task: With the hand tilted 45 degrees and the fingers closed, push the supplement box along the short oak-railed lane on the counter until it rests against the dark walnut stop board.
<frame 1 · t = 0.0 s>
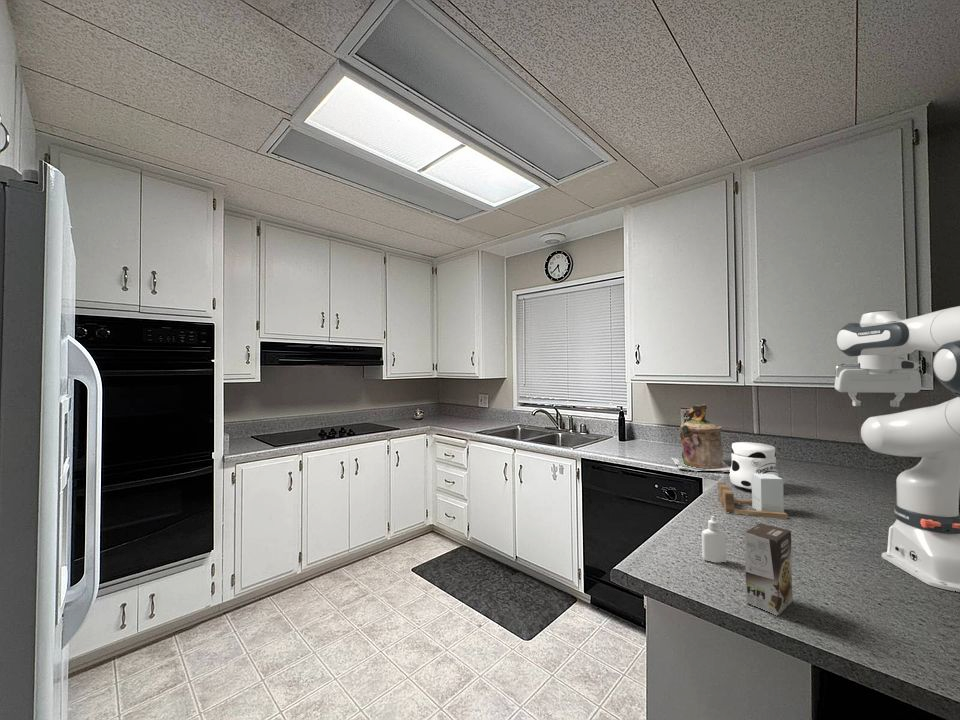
hand: (875, 406, 130), 39 cm above the worktop, tool pointing down, fingers open, 8 cm apart
stop board: (725, 497, 151), on the worktop
guide rails: (741, 508, 149), on the worktop
eye dropper bottle: (714, 561, 112), on the worktop
supplement box: (767, 511, 146), on the worktop
milk container: (753, 489, 172), on the worktop
cookie jar: (701, 467, 208), on the worktop
coffee box: (769, 603, 92), on the worktop
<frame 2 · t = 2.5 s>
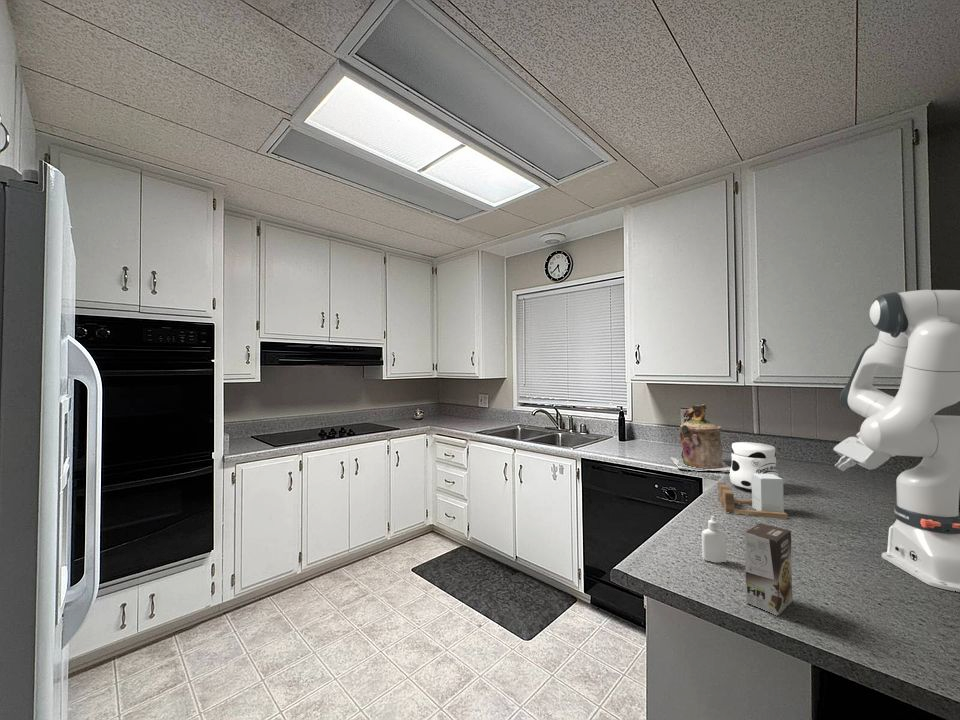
hand: (838, 468, 139), 17 cm above the worktop, tool tilted 45°, fingers closed
nothing on the worktop moved.
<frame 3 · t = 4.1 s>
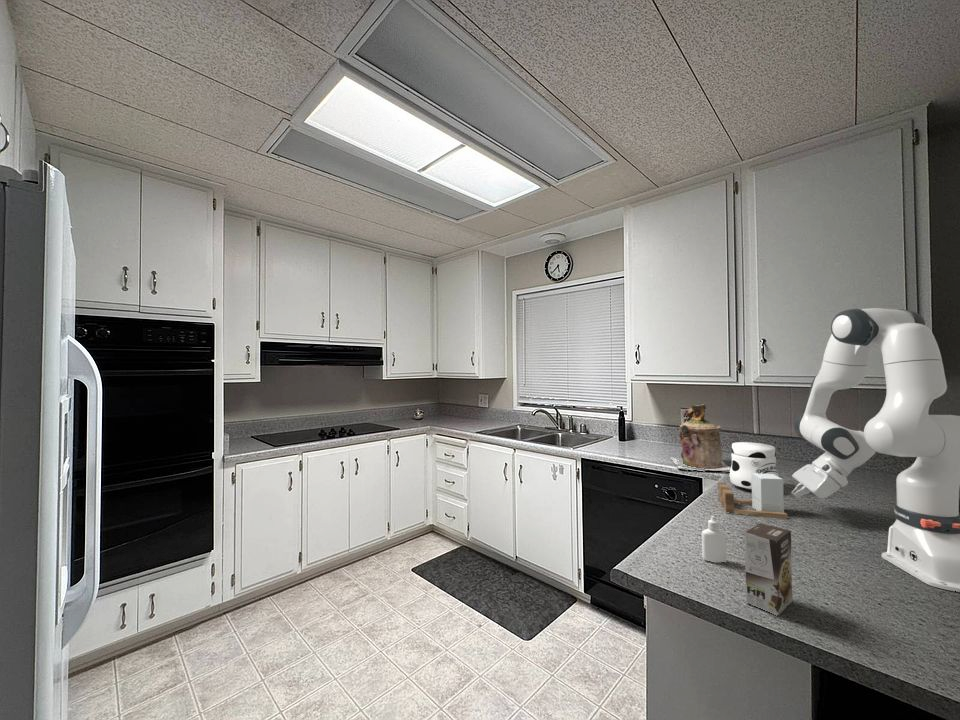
hand: (794, 495, 144), 6 cm above the worktop, tool tilted 45°, fingers closed
nothing on the worktop moved.
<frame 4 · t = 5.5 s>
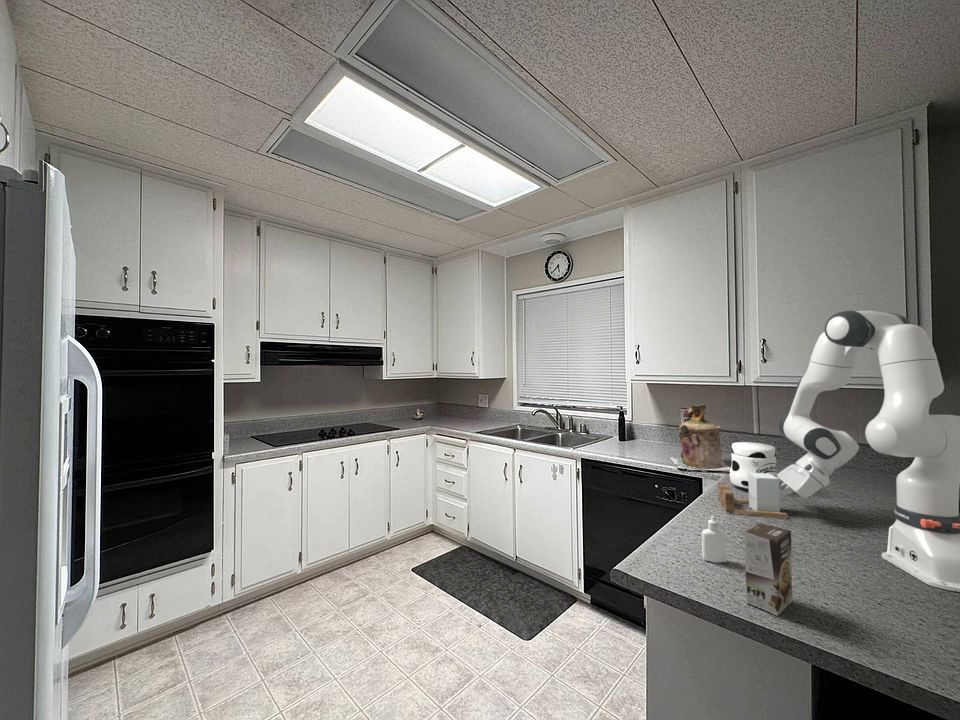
hand: (778, 495, 145), 6 cm above the worktop, tool tilted 45°, fingers closed
supplement box: (764, 511, 147), on the worktop, touching gripper
everything else where it was.
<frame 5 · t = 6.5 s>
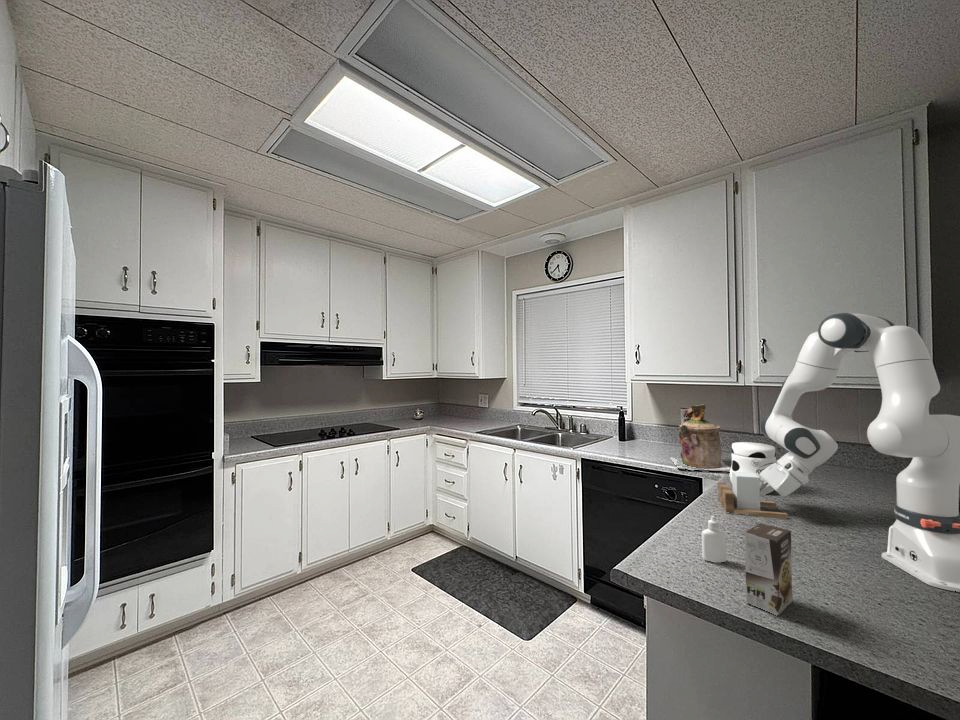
hand: (759, 493, 147), 6 cm above the worktop, tool tilted 45°, fingers closed, pressing on supplement box
supplement box: (746, 509, 149), on the worktop, touching gripper
everything else where it was.
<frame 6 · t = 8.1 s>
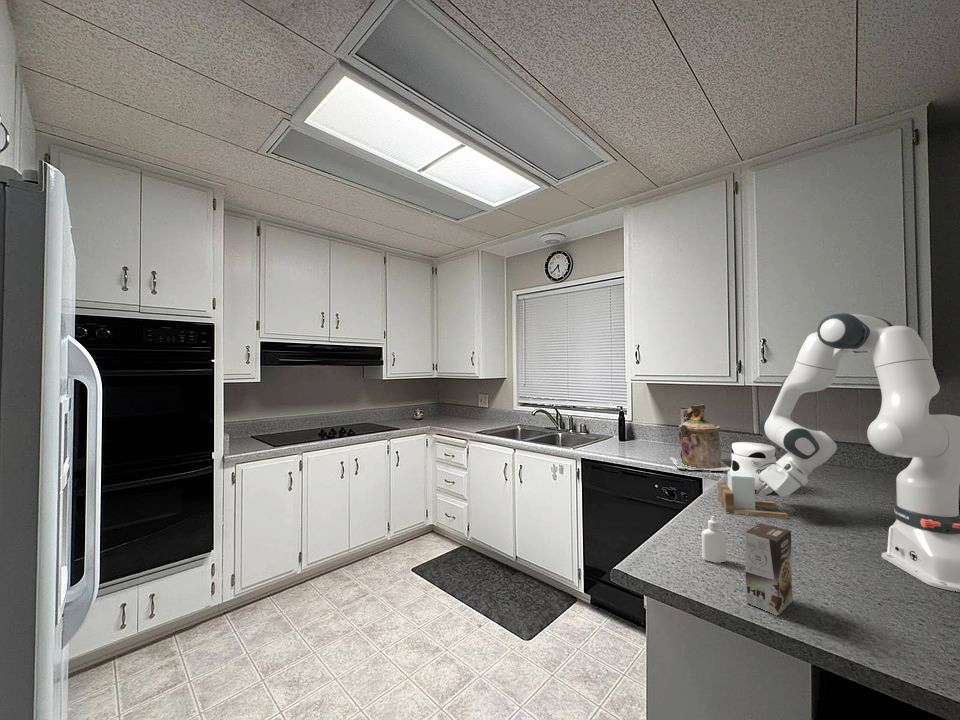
hand: (758, 494, 147), 6 cm above the worktop, tool tilted 45°, fingers closed
supplement box: (741, 509, 149), on the worktop
everything else where it was.
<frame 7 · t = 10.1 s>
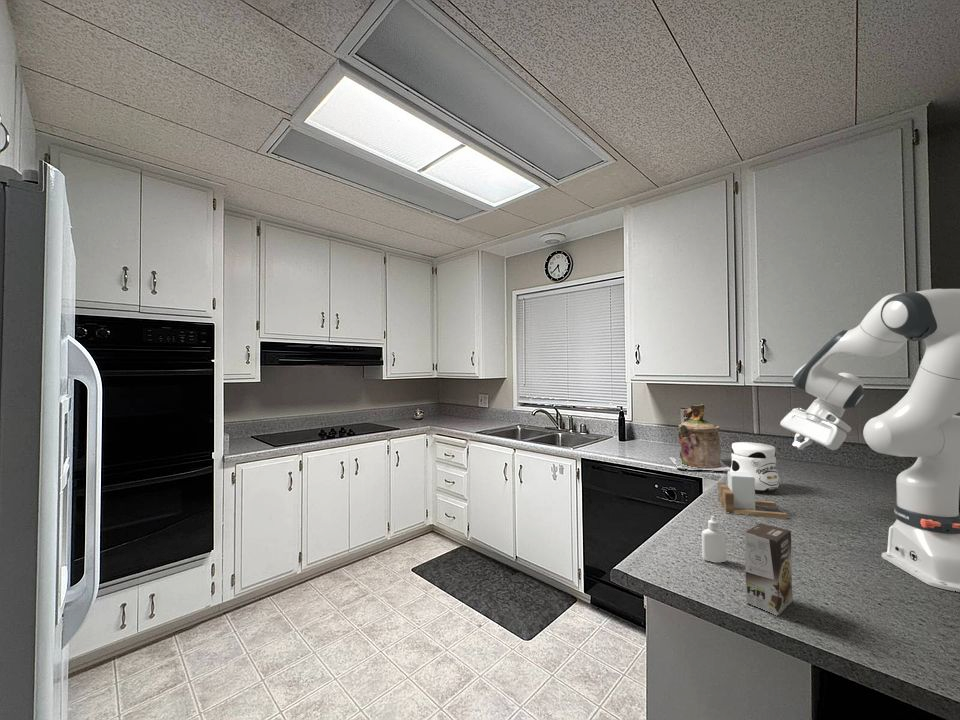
hand: (796, 447, 144), 23 cm above the worktop, tool tilted 35°, fingers closed
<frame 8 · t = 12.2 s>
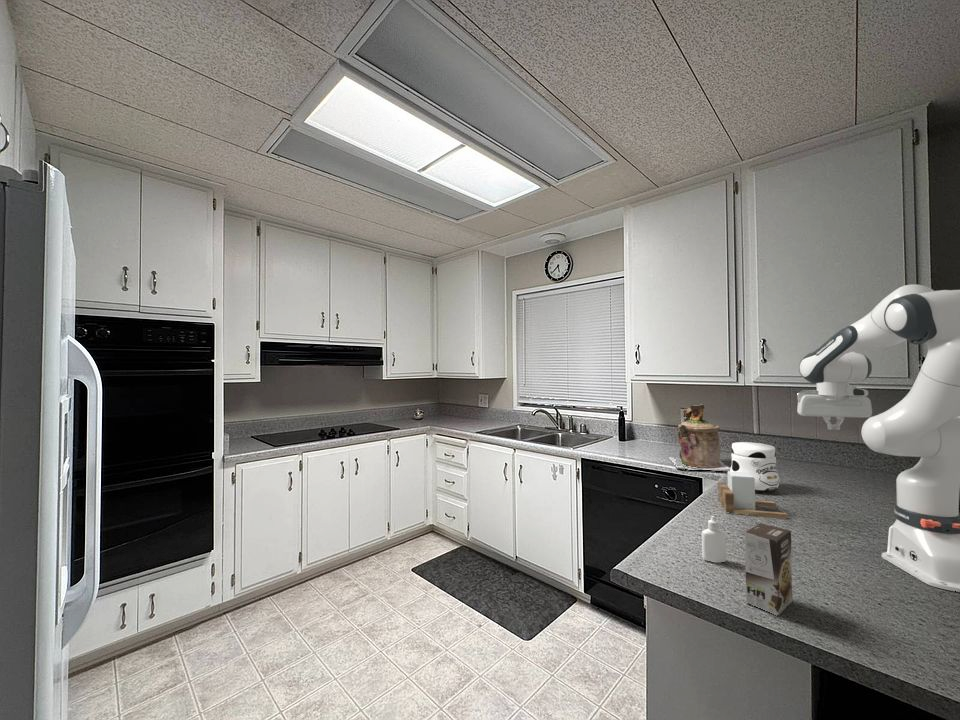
hand: (833, 429, 144), 29 cm above the worktop, tool pointing down, fingers closed
at the end: supplement box 0.3 cm from the stop board (horizontally); supplement box tilted 0°; supplement box moved 8.1 cm from its start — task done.
